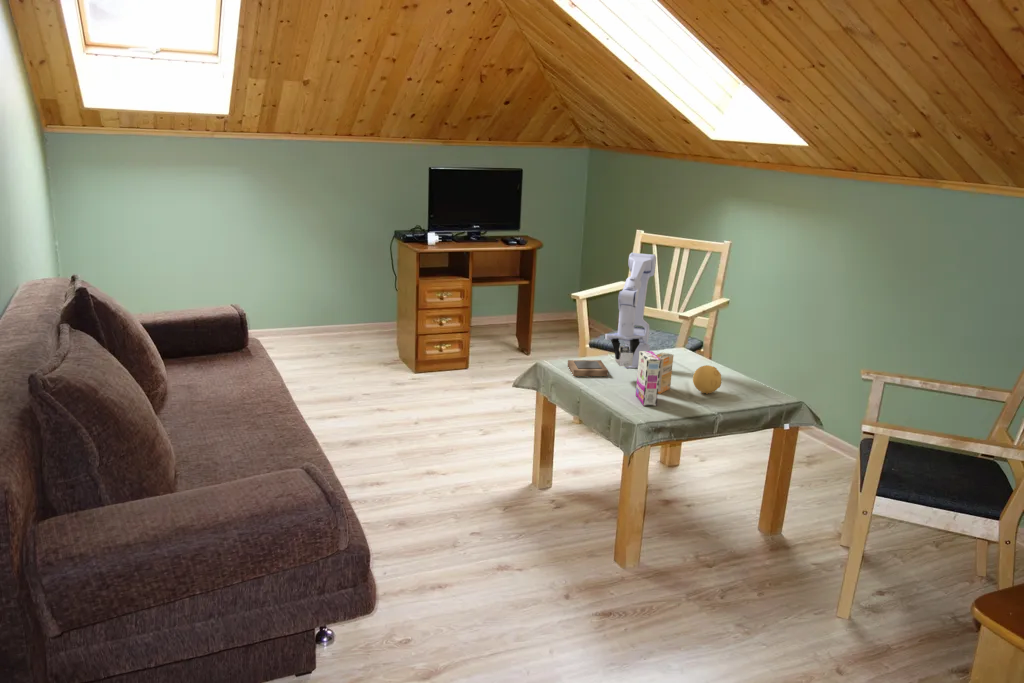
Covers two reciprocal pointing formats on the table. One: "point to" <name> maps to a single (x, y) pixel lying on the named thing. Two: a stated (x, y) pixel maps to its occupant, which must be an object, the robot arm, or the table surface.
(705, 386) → the stress ball
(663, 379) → the supplement box
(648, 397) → the candy bar box
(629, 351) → the housing
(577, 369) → the stand
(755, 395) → the table surface
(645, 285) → the robot arm
